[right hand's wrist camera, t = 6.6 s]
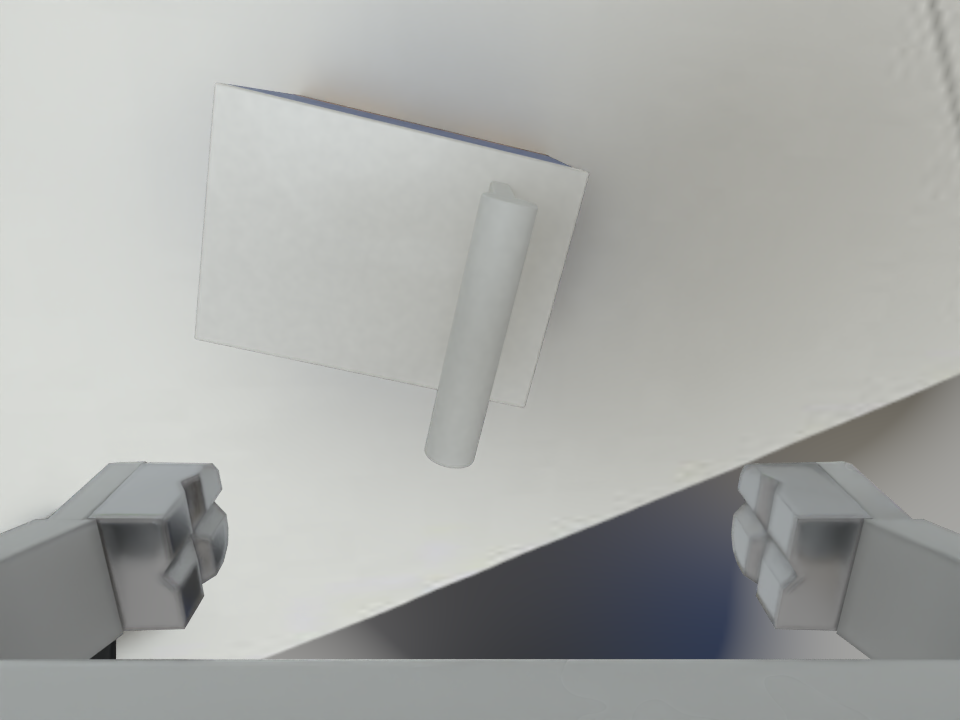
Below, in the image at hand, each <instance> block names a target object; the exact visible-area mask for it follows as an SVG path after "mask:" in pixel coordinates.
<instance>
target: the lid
mask: <svg viewBox="0 0 960 720" xmlns="http://www.w3.org/2000/svg"><path fill="white" fill-rule="evenodd" d="M588 178H589V173H588V172H587V171H584V170H581V169H577V168H573V167H568V166H564V165H560V164H556V163H552V162H548V161H544V160H539V159H535V158H531V157H527V156H523V155H519V154H515V153H510V152H506V151H502V150H498V149H494V148H490V147H486V146H481V145H477V144H473V143H469V142H465V141H461V140H457V139H452V138H448V137H444V136H440V135H436V134H432V133H428V132H423V131H419V130H415V129H411V128H407V127H403V126H399V125H394V124H390V123H386V122H382V121H378V120H374V119H370V118H365V117H361V116H357V115H353V114H349V113H345V112H340V111H336V110H332V109H328V108H324V107H320V106H316V105H311V104H307V103H303V102H299V101H295V100H291V99H287V98H282V97H278V96H274V95H270V94H266V93H262V92H258V91H253V90H249V89H245V88H241V87H237V86H233V85H229V84H223V83H215V86H214V99H213V112H212V124H211V137H210V150H209V162H208V175H207V188H206V200H205V213H204V226H203V238H202V251H201V264H200V276H199V289H198V302H197V314H196V327H195V339H197V340H201V341H206V342H211V343H216V344H221V345H225V346H230V347H235V348H240V349H244V350H249V351H254V352H259V353H264V354H268V355H273V356H278V357H283V358H288V359H292V360H297V361H302V362H307V363H312V364H316V365H321V366H326V367H331V368H335V369H340V370H345V371H350V372H355V373H359V374H364V375H369V376H374V377H379V378H383V379H388V380H393V381H398V382H403V383H407V384H412V385H417V386H422V387H426V388H431V389H436V390H438V391H437V395H436V400H435V404H434V409H433V413H432V418H431V422H430V427H429V431H428V436H427V440H426V444H425V454H426V456H427V457H428V458H429V459H430V460H431V461H433V462H435V463H436V464H439V465H441V466H444V467H449V468H464V467H468V466H469V465H471V464H472V463H473V461H474V458H475V454H476V450H477V447H478V443H479V439H480V435H481V431H482V427H483V423H484V419H485V415H486V411H487V407H488V403H489V401H493V402H498V403H503V404H508V405H513V406H517V407H522V408H524V407H525V405H526V401H527V398H528V394H529V390H530V387H531V383H532V380H533V376H534V372H535V369H536V365H537V361H538V358H539V354H540V351H541V347H542V343H543V340H544V336H545V333H546V329H547V325H548V322H549V318H550V315H551V311H552V307H553V304H554V300H555V297H556V293H557V289H558V286H559V282H560V279H561V275H562V271H563V268H564V264H565V260H566V257H567V253H568V250H569V246H570V242H571V239H572V235H573V232H574V228H575V224H576V221H577V217H578V214H579V210H580V206H581V203H582V199H583V196H584V192H585V188H586V185H587V181H588Z"/></svg>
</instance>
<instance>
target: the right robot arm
mask: <svg viewBox="0 0 960 720" xmlns="http://www.w3.org/2000/svg"><path fill="white" fill-rule="evenodd" d="M221 490H222V485H221V480H220V475H219V470H218V469H217V468H216V467H215V466H214V465H213V463H164V462H149V463H147V462H116V463H109V464H108V465H107V466H106V467H104V468H103V469H102V470H101V471H100V472H99V473H98V474H97V475H96V476H94V477H93V478H92V479H91V480H90V481H89V482H88V483H87V484H86V485H84V486H83V487H82V488H81V489H80V490H79V491H78V492H77V493H76V494H74V495H73V496H72V497H71V498H70V499H69V500H68V501H67V502H66V503H64V504H63V505H62V506H61V507H60V508H59V509H58V510H57V511H56V512H54V513H53V514H52V515H51V516H50V517H49V518H48V519H35V520H33V521H30V522H28V523H26V524H23V525H21V526H18V527H16V528H13V529H11V530H8V531H6V532H3V533H1V534H0V720H960V534H959V533H957V532H954V531H952V530H949V529H947V528H944V527H942V526H939V525H937V524H934V523H932V522H930V521H927V520H925V519H912V518H911V517H910V516H909V515H908V514H907V513H906V512H904V511H903V510H902V509H901V508H900V507H899V506H898V505H897V504H896V503H894V502H893V501H892V500H891V499H890V498H889V497H888V496H887V495H886V494H885V493H883V492H882V491H881V490H880V489H879V488H878V487H877V486H876V485H875V484H873V483H872V482H871V481H870V480H869V479H868V478H867V477H866V476H865V475H863V474H862V473H861V472H860V471H859V470H858V469H857V468H856V467H855V466H854V465H852V464H850V463H847V462H843V461H840V462H817V463H816V462H804V463H803V462H802V463H762V464H748V465H744V468H743V470H742V472H741V474H740V479H739V485H738V490H739V492H740V493H741V495H742V496H743V498H744V500H745V501H746V502H745V503H744V504H743V505H742V506H741V507H740V508H739V509H738V510H737V511H736V512H735V513H734V516H733V524H732V532H731V534H732V544H733V552H734V555H735V558H736V561H737V564H738V566H739V568H740V569H741V571H742V573H743V575H744V576H746V577H748V578H749V579H751V580H752V581H754V582H755V583H757V584H758V587H757V592H756V597H757V599H758V600H759V602H760V604H761V605H762V607H763V609H764V610H765V612H766V614H767V615H768V617H769V619H770V620H771V622H772V624H773V626H774V627H775V629H793V630H830V631H837V634H838V635H839V636H841V637H842V638H844V639H845V640H846V641H847V642H849V643H850V644H851V645H853V646H854V647H855V648H857V649H858V650H859V651H861V652H862V653H863V654H865V655H866V656H867V657H869V658H870V659H90V658H91V657H93V656H94V655H95V654H97V653H98V652H99V651H101V650H102V649H103V648H105V647H106V646H107V645H109V644H110V643H112V642H113V641H114V640H116V639H117V638H118V637H120V636H121V635H122V634H123V631H130V630H165V629H185V627H186V626H187V624H188V622H189V621H190V619H191V617H192V616H193V614H194V612H195V610H196V609H197V607H198V605H199V604H200V602H201V600H202V599H203V597H204V592H203V587H202V584H203V583H205V582H206V581H208V580H209V579H211V578H213V577H214V576H216V575H217V573H218V571H219V569H220V567H221V566H222V564H223V562H224V558H225V554H226V550H227V546H228V522H227V516H226V513H225V512H224V511H223V510H222V509H221V508H220V507H219V506H218V505H217V504H216V503H215V502H214V501H215V500H216V498H217V497H218V495H219V493H220V492H221Z"/></svg>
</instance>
